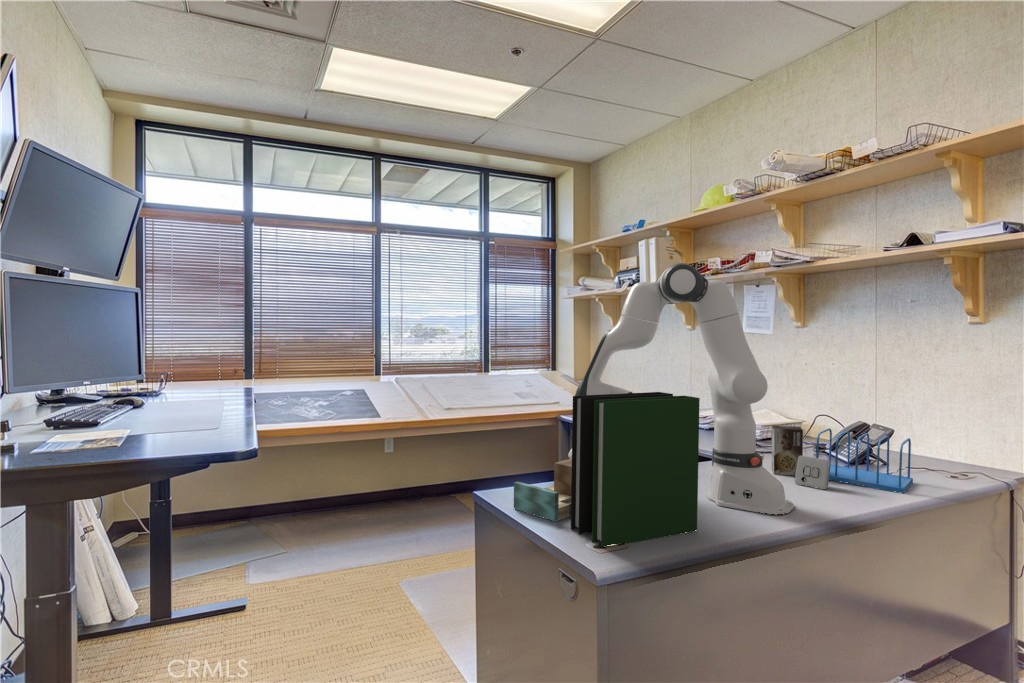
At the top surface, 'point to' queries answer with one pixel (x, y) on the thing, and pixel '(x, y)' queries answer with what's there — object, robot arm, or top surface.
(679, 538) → the top surface
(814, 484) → the electrical switch
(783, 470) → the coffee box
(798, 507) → the top surface
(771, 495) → the robot arm
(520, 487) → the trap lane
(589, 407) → the binders
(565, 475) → the walnut block
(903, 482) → the file sorter
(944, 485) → the top surface
